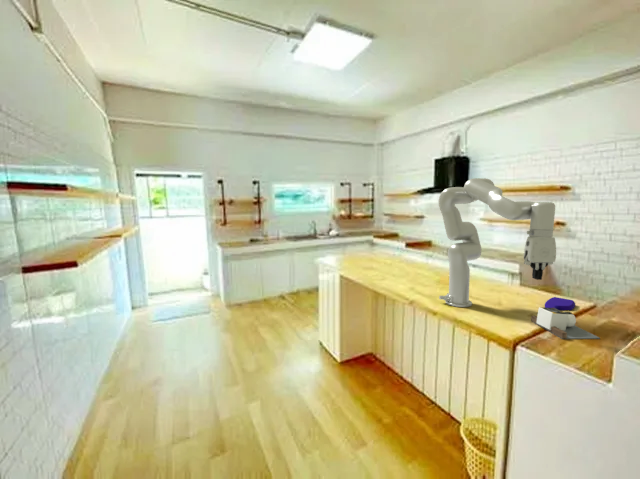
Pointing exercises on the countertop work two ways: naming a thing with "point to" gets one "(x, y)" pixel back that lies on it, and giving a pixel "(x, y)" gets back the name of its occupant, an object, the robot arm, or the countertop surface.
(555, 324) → the medicine bottle
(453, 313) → the countertop surface
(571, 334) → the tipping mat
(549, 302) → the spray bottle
